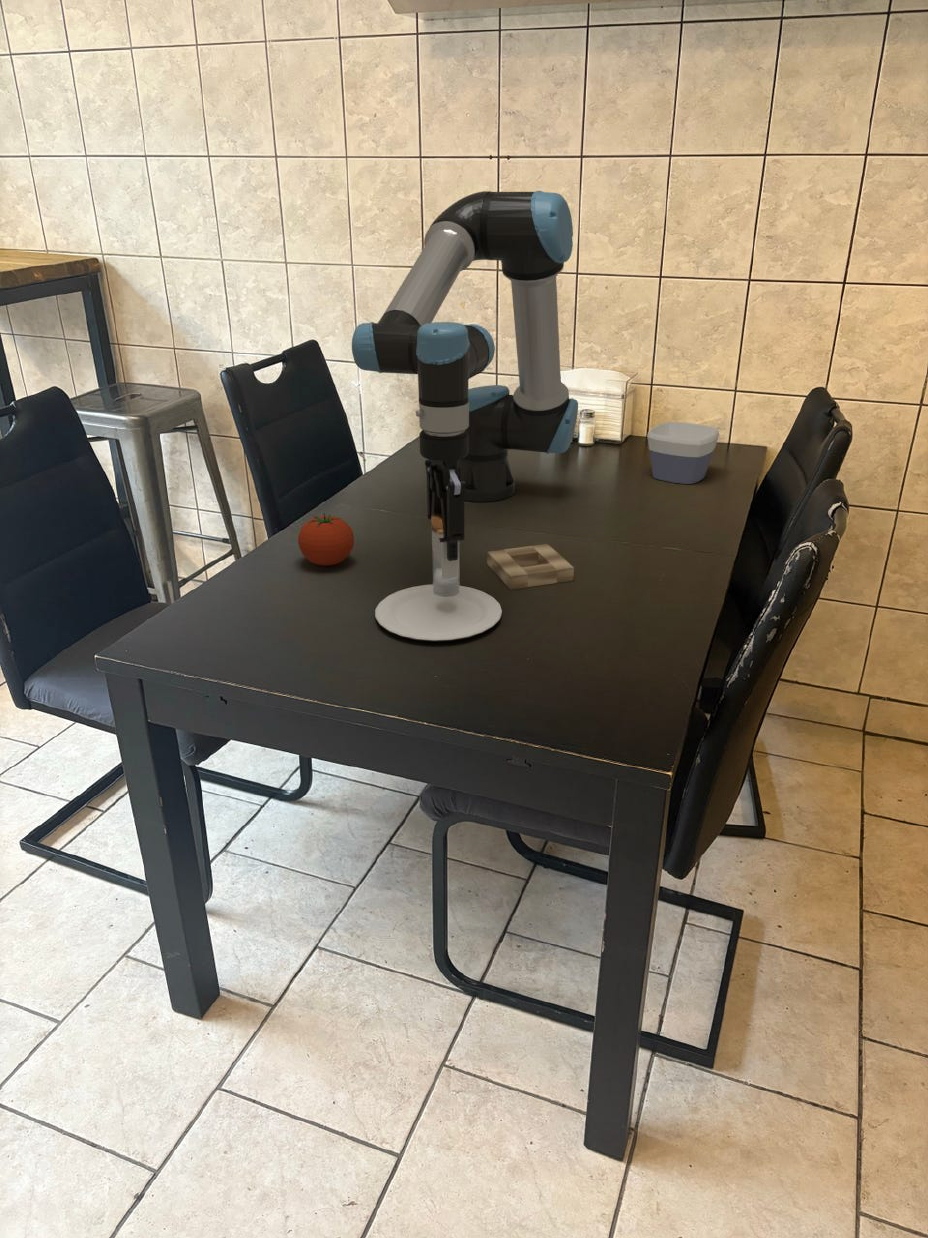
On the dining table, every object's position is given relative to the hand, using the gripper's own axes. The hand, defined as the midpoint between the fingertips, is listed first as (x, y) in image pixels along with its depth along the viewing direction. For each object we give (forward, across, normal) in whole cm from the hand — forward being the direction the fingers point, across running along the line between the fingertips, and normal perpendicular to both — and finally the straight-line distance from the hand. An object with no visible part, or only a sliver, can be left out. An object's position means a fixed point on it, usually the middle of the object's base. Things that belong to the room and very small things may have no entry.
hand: (446, 570), depth 149 cm
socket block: (+7, -10, +19) cm, 23 cm away
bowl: (+7, -51, +74) cm, 90 cm away
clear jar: (+4, 0, 0) cm, 4 cm away
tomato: (+7, -26, -15) cm, 31 cm away
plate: (+8, +2, -2) cm, 8 cm away
